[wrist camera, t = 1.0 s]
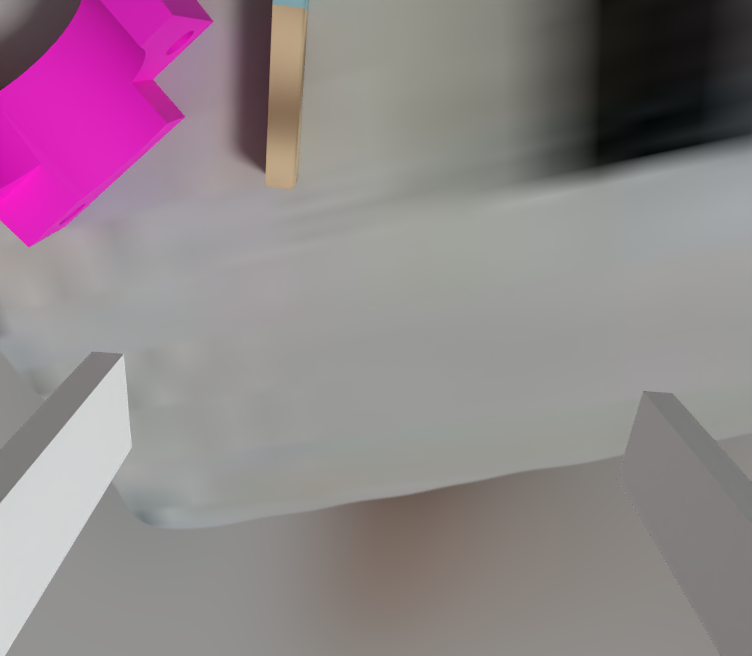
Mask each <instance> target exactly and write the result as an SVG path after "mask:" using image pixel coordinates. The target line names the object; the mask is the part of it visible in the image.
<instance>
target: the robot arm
mask: <svg viewBox="0 0 752 656" xmlns="http://www.w3.org/2000/svg"><path fill="white" fill-rule="evenodd" d="M131 448H132V444H131V433H130V421H129V410H128V398H127V387H126V375H125V364H124V354H117V353H103V352H91V353H90V355H89V356H88V357H87V358H86V359H85V360H84V361H83V362H82V363H81V364H80V365H79V366H78V367H77V368H76V369H75V371H74V372H73V373H72V374H71V375H70V376H69V377H68V378H67V379H66V380H65V381H64V382H63V383H62V384H61V385H60V386H59V388H58V389H57V390H56V391H55V392H54V393H53V394H52V395H51V396H50V397H49V398H48V399H47V400H46V401H45V402H44V404H43V405H42V406H41V407H40V408H39V409H38V410H37V411H36V412H35V413H34V414H33V415H32V416H31V417H30V419H28V421H27V422H26V423H25V424H24V425H23V426H22V427H21V428H20V429H19V430H18V431H17V432H16V433H15V435H13V436H12V438H11V439H10V440H9V441H8V442H7V443H6V444H5V445H4V446H3V447H2V448H1V449H0V656H5V655H6V653H7V651H8V650H9V648H10V646H11V645H12V643H13V641H14V640H15V638H16V636H17V635H18V633H19V632H20V630H21V628H22V627H23V625H24V623H25V622H26V620H27V618H28V617H29V615H30V614H31V612H32V610H33V609H34V607H35V605H36V604H37V602H38V600H39V599H40V597H41V595H42V594H43V592H44V590H45V589H46V587H47V586H48V584H49V582H50V580H51V579H52V577H53V576H54V574H55V572H56V571H57V569H58V568H59V566H60V564H61V563H62V561H63V559H64V558H65V556H66V554H67V553H68V551H69V549H70V548H71V546H72V544H73V543H74V541H75V540H76V538H77V536H78V535H79V533H80V531H81V530H82V528H83V526H84V525H85V523H86V521H87V520H88V518H89V516H90V515H91V513H92V512H93V510H94V508H95V507H96V505H97V503H98V502H99V500H100V499H101V497H102V495H103V494H104V492H105V490H106V489H107V487H108V485H109V484H110V482H111V480H112V479H113V477H114V476H115V474H116V472H117V471H118V469H119V467H120V466H121V464H122V462H123V461H124V459H125V458H126V456H127V454H128V453H129V451H130V449H131ZM618 481H619V483H620V485H621V486H622V488H623V490H624V491H625V493H626V495H627V497H628V498H629V500H630V501H631V503H632V505H633V507H634V508H635V510H636V512H637V513H638V515H639V517H640V519H641V520H642V522H643V524H644V525H645V527H646V529H647V531H648V532H649V534H650V536H651V537H652V539H653V541H654V543H655V544H656V546H657V548H658V549H659V551H660V553H661V555H662V556H663V558H664V559H665V561H666V563H667V565H668V566H669V568H670V570H671V571H672V573H673V575H674V577H675V578H676V580H677V582H678V584H679V585H680V587H681V589H682V590H683V592H684V594H685V595H686V597H687V599H688V601H689V602H690V604H691V606H692V608H693V609H694V611H695V613H696V614H697V616H698V618H699V619H700V621H701V623H702V625H703V626H704V628H705V630H706V631H707V633H708V635H709V637H710V638H711V640H712V642H713V643H714V645H715V647H716V649H717V650H718V652H719V653H720V655H721V656H752V481H751V480H750V479H749V478H748V477H747V476H746V475H745V474H744V473H743V471H741V469H740V468H739V467H738V466H737V465H736V464H735V462H733V460H732V459H731V458H730V457H729V456H728V455H727V454H726V453H725V451H724V450H723V449H722V448H721V447H720V446H719V445H718V444H717V442H716V441H715V440H714V439H713V438H712V437H711V436H710V435H709V434H708V432H707V431H706V430H705V429H704V428H703V427H702V426H701V425H700V424H699V422H698V421H697V420H696V419H695V418H694V417H693V416H692V415H691V413H690V412H689V411H688V410H687V409H686V408H685V407H684V406H683V405H682V403H681V402H680V401H679V400H678V399H677V398H676V397H675V396H674V395H673V393H661V392H647V391H643V394H642V397H641V400H640V404H639V407H638V410H637V414H636V417H635V421H634V424H633V427H632V431H631V434H630V437H629V441H628V444H627V448H626V451H625V454H624V458H623V461H622V465H621V468H620V471H619V475H618Z"/></svg>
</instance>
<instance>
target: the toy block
mask: <svg viewBox="0 0 752 656" xmlns="http://www.w3.org/2000/svg"><path fill="white" fill-rule="evenodd" d="M212 23H213V20H212V19H211V18H210V17H209V15H208V14H207V13H206V12H205V10H204V9H203V8H202V7H201V5H200V4H199V3H198V2H197V0H81V3H80V6H79V8H78V10H77V12H76V14H75V16H74V17H73V19H72V21H71V22H70V24H69V25H68V27H67V28H66V29H65V31H64V32H63V33H62V35H61V36H60V37H59V38H58V40H57V41H56V42H55V43H54V44H53V45H52V46H51V47H50V49H49V50H48V51H47V52H46V53H45V54H44V55H43V56H42V57H41V58H40V59H39V60H38V61H37V62H35V63H34V64H33V65H32V66H31V67H30V68H29V69H28V70H27V71H25V72H24V73H23V74H22V75H20V76H19V77H18V78H17V79H15V80H14V81H13V82H12V83H10V84H9V85H8V86H6V87H5V88H3V89H2V90H1V91H0V220H1V221H2V222H3V223H4V224H5V225H6V226H7V227H8V228H9V229H10V230H11V231H12V232H13V233H14V234H15V235H16V236H17V237H18V238H19V239H21V240H22V241H23V242H24V243H25V244H26V245H27V246H28V247H30V246H32V245H34V244H36V243H37V242H39V241H41V240H43V239H44V238H46V237H48V236H49V235H51V234H53V233H55V232H56V231H58V230H60V229H62V228H63V227H65V226H66V225H67V224H68V223H69V222H70V221H72V220H73V219H74V218H75V217H76V216H77V215H78V214H79V213H80V212H81V211H83V210H84V209H85V208H86V207H87V206H88V205H89V204H90V203H91V202H92V201H93V200H95V199H96V198H97V197H98V196H99V195H100V194H101V193H102V192H103V191H104V190H106V189H107V188H108V187H109V186H110V185H111V184H112V183H113V182H114V181H115V180H116V179H118V178H119V177H120V176H121V175H122V174H123V173H124V172H125V171H126V170H127V169H129V168H130V167H131V166H132V165H133V164H134V163H135V162H136V161H137V160H138V159H140V158H141V157H142V156H143V155H144V154H145V153H146V152H147V151H148V150H149V149H150V148H152V147H153V146H154V145H155V144H156V143H157V142H158V141H159V140H160V139H161V138H163V137H164V136H165V135H166V134H167V133H168V132H169V131H170V130H171V129H172V128H173V127H175V126H176V125H177V124H178V123H179V122H180V121H181V120H182V119H183V118H184V117H185V116H184V115H183V114H182V113H181V111H180V110H179V109H178V108H177V107H176V106H175V105H174V103H173V102H172V101H171V100H170V99H169V98H168V96H167V95H166V94H165V93H164V92H163V91H162V90H161V88H160V87H159V86H158V85H157V84H156V83H155V81H154V80H153V79H154V78H155V77H156V76H157V75H158V74H159V73H160V72H161V71H162V70H163V69H164V68H165V67H166V66H168V65H169V64H170V63H171V62H172V61H173V60H174V59H175V58H176V57H177V56H178V55H179V54H180V53H181V52H182V51H183V50H184V49H185V48H186V47H187V46H189V45H190V44H191V43H192V42H193V41H194V40H195V39H196V38H197V37H198V36H199V35H200V34H201V33H202V32H203V31H204V30H205V29H206V28H207V27H208V26H210V25H211V24H212Z"/></svg>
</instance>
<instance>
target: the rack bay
mask: <svg viewBox="0 0 752 656" xmlns="http://www.w3.org/2000/svg"><path fill="white" fill-rule="evenodd" d="M307 16H308V0H273V5H272V30H271V54H270V79H269V103H268V128H267V152H266V176H265V186H266V187H275V188H284V189H293V187H294V185H295V184H296V182H297V177H298V161H299V145H300V129H301V113H302V97H303V81H304V65H305V48H306V32H307Z"/></svg>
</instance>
